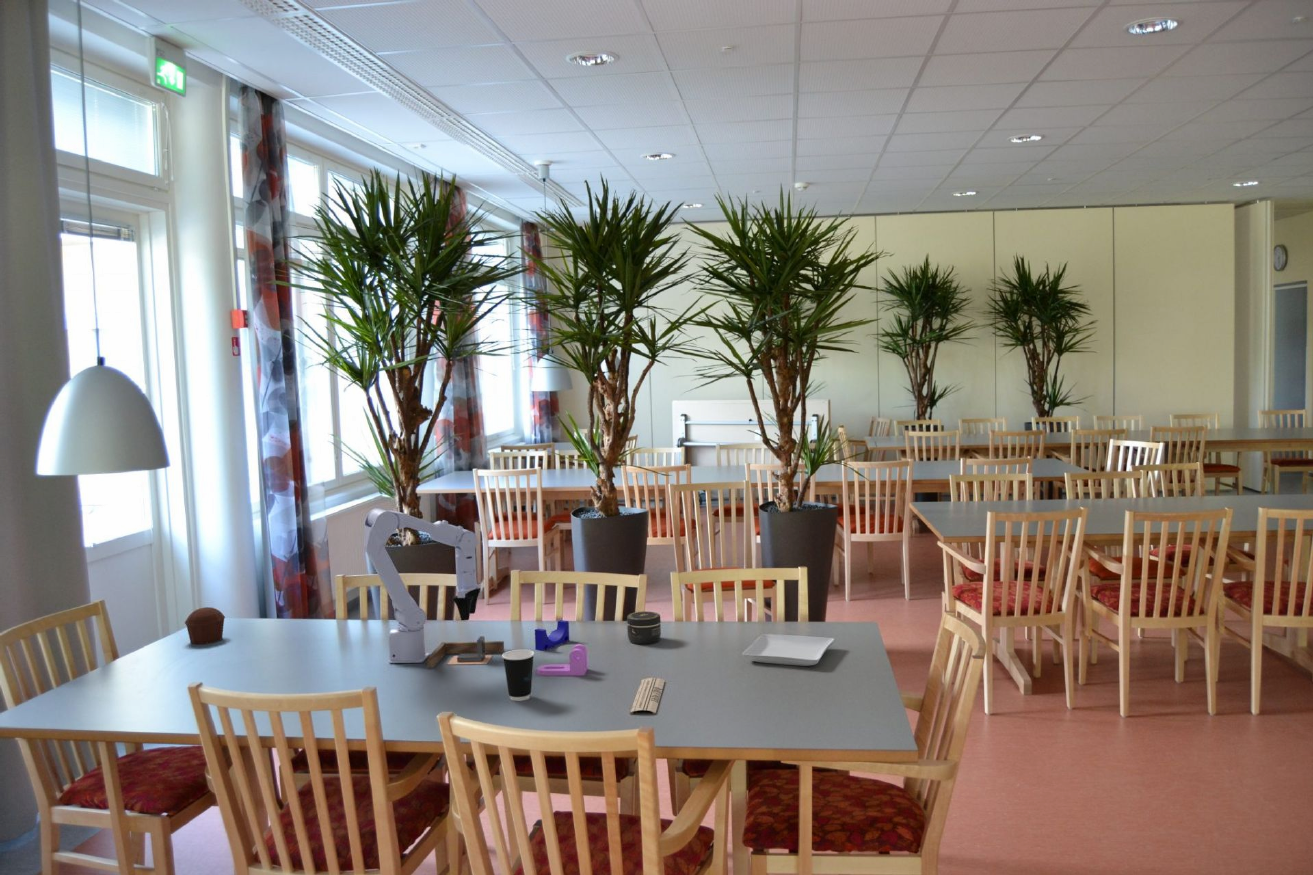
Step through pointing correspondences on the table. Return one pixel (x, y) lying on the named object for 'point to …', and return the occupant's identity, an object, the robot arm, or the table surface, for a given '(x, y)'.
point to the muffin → (205, 625)
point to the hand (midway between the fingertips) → (468, 616)
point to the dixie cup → (519, 673)
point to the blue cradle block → (552, 636)
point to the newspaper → (648, 695)
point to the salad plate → (788, 649)
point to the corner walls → (462, 649)
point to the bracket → (573, 669)
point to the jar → (644, 627)
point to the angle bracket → (474, 656)
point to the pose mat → (454, 662)
